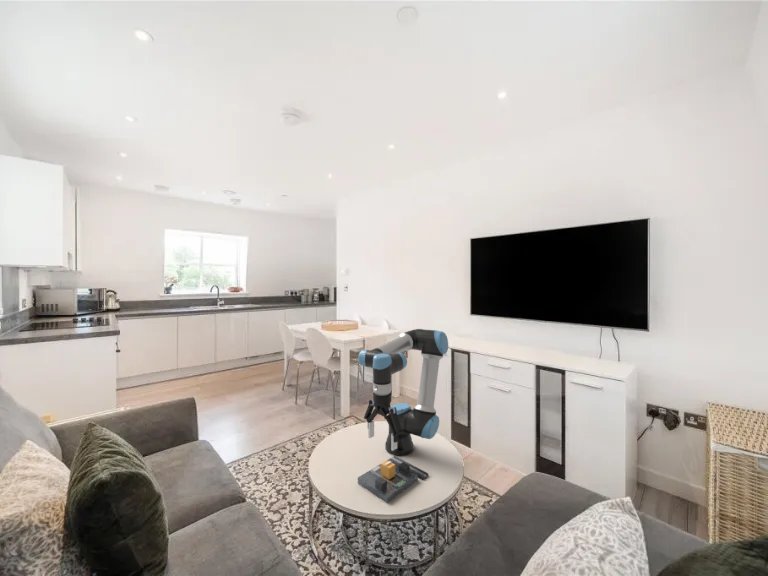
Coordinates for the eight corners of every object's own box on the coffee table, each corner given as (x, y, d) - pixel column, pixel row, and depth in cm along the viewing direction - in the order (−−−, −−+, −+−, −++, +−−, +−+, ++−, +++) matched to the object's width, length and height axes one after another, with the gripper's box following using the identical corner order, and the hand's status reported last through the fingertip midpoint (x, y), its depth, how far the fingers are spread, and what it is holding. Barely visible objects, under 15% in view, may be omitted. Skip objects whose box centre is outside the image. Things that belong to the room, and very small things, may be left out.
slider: (386, 470, 144) (387, 458, 144) (395, 475, 141) (395, 463, 141) (380, 474, 142) (380, 462, 141) (389, 479, 138) (389, 467, 138)
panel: (388, 464, 155) (388, 453, 155) (417, 480, 142) (417, 468, 142) (357, 483, 140) (357, 470, 140) (387, 503, 128) (387, 489, 128)
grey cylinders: (394, 457, 161) (394, 455, 161) (429, 476, 146) (429, 473, 146) (388, 461, 157) (388, 458, 157) (423, 480, 142) (423, 477, 142)
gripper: (355, 387, 137) (356, 435, 138) (398, 403, 119) (398, 458, 120) (368, 382, 142) (369, 429, 143) (411, 398, 124) (411, 451, 125)
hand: (382, 442), depth 131 cm, fingers open, 13 cm apart
